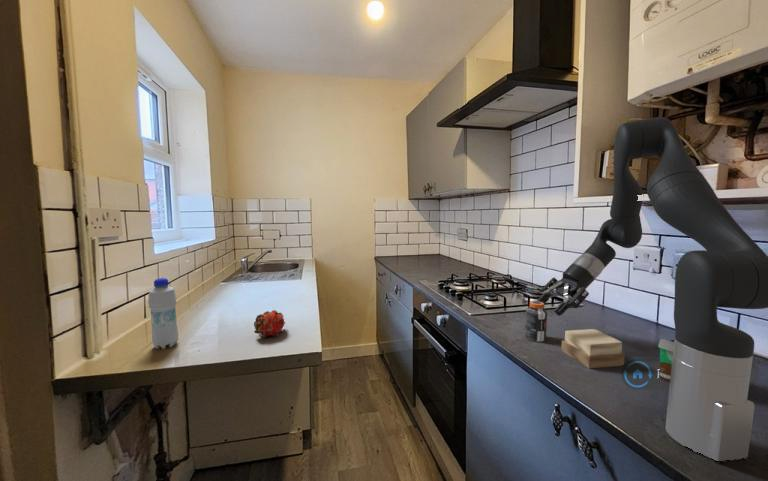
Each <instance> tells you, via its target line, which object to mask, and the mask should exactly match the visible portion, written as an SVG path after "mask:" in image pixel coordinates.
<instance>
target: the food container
mask: <svg viewBox="0 0 768 481" xmlns="http://www.w3.org/2000/svg"><path fill="white" fill-rule="evenodd" d="M674 340H675V338H674V339H671V340H667V339H664V338H660V339H659V342H658V346H657V347H658V348H659V380H662V381H664V382H666V383H667V382H668V383H670V378H671V368H672V359H673V350H674Z"/></svg>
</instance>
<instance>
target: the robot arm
mask: <svg viewBox="0 0 768 481" xmlns="http://www.w3.org/2000/svg"><path fill="white" fill-rule="evenodd" d="M652 157H653V158H654V157H655V158H658V159H659V160H660V163H659V164H658V166H657V167H656V168H655V170H654V172H653V173H652V174H651V176H650V178H649V179H648V182H647V185H646V194H647V197H648V199H649V201H650V203H651V206H652V208H653V210H654V211H655V213H656V215H657V216H658V217H659V218H660V219H661V220H662V221H663V222H665V223H666V224H668V225H669V226H671V227H672V228H674V229H675V230H677V231H679V232H680V233H682V234H684V235H685V236H687V237H688V238H690V239H691V240H693V241H695V242H696V243H698V244H699V245H700V246H701V247H703V248H704V250H696V249H695V250H690V251H687V252H686V253H684V254H683V255H682V256H681V257H680V258H679V259H678V260H679V261H678V263H677V265H676V268H675V274H674V276H675V278H674V301H673V302H674V305H673V306H674V307H673V322H674V328H675V329H674V331H675V332H674V339H675V340H674V339H673V340H674V350H673V359H672V368H671V378H670V382H669V388H668V389H669V390H668V398H667V405H666V406H667V410H666V420H665V431H666V433H667V434H668V435H669V436H670V437H671V439H673V440H674V441H675V442H677V443H678V444H680V445H681V446H683V447H685V446H686V447H688V448H690V449H692V450H693V451H692V450H691V451H692V452H695V453H697V452H698V453H697V454H699V453H701V454H700V455H702V454H703V455H702V456H705V457H707V458H709V459H711V458H712V459H714V460H716V461H723V462H727V461H726V460H730V461H737V460H743V459H742V458H744V459H747V458H746V457H748V458H749V451H750V442H751V434H752V429H753V428H752V427H753V420H754V413H755V402H753V401H752V400H748V397H749V396H748V395H749V388H750V380H751V374H752V366H753V361H754V360H753V359H754V352H755V340H754V338H753V337H752V335H751V334H749V333H747V332H745V331H743V330H741V329H739V328H736V327H733V326H731V325H729V324H725V323H722V322H720V321H719V320H718V308H725V309H726V308H727V309H740V310H763V309H768V255H767V254H766V252H764V251H763V249H762V248H761V247H760V246H759V245H758V244H757V243H756V242H755V241H754V239H753V238H751V236H750V235H749V234H748V233H747V232H746V231H744V229H743V228H742V227H741V226H740V224H739V223H737V221H736V220H735V219H734V217H733V216H732V215H731V213H729V211H728V210H727V208H726V207H725V206H724V204H723V203H722V201H721V200H720V198H718V196H717V194H716V192H715V191H714V189H713V187H712V186H711V184H710V183H709V182H708V180H707V179H706V178H705V175H704V174H703V173H702V172H701V170H700V169H698V167H697V165H696V164H695V162H694V161H693V159H692V158H691V156H690V155H689V153H688V152H687V150H686V147H685V146H684V144H683V142H682V139H681V137H680V135H679V133H678V131H677V128H676V126H675V125H674V124H673V122H672V121H671V120H670V119H669V118H668V117H665V116H664V117H662V116H660V117H659V116H658V117H651V118H646V119H639V120H634V121H627V122H624V123H621V124H620V125H619V126H618V128H617V129H616V133H615V136H614V143H613V168H612V169H613V193H612V199H611V204H610V205H611V206H610V210H609V216H610V218H609V219H607V220H606V221H604V222H603V223H602V224H601V227H600V228H599V231H598V233H597V234H596V237H595V238H594V240H593V242H592V243H591V244H590V245H589V247H588V248H587V249H586V250H585V251H584V252H582V254H580V255H579V256H578V257H576V259H575V260H574V261H572V263H571V264H570V265H569V266H568V267H567V268H566V269H565V270H564V271H563V273H562V278H561V279H559V280H558V279H557V278H556V277H552V278H551V279H550V280H549V281H548V282H547V283H545V285H544V286H543V287H542V288H541V289H540V290H541V292H542V294H541V295H540V297H539V298H538V299H537V300H536V301H539V302H543V303H544V305H545V304H546V303H547V302H548V301H549V300H550V299H551V298H553V297H559V296H560V297H563V302H562V301H561V302H560V303H559V304H558V306H556V307H555V309H554V310H553V312H554V314H555V315H556V316H559V317H560V316H562V315H564V313H565V312H566V311H567V310H568V309H570V308H575V309H577V308H579V306H581V305H582V303H583V302H584V301H585V300H586V299H587V297H589V294H590V293H589V292H588V290H587V288H588V287H589V286H590V285H591V284H592V283H593V282H594V281H595V280H596V279H597V278H598V277H599V276H600V275H601V274H602V273H603V271H604V269H605V268H606V267H607V266H608V265H609V264H610V263H611V262H612V261H613V260H614V259H615V258H616V256H617V252H616V250H615V249H614V247H612V246H611V245H610V244H608V243H607V242H610V243H612V244H615V245H617V246H619V247H621V248H623V249H631V248H634V247H636V246H638V244H640V242H641V239H642V237H643V228H642V221H641V216H640V214H641V210H642V206H643V202H644V200H643V201H637V200H638V196H637V195H642V194H643V195H644V191H643V188H642V186H641V184H640V183H639V182H638V180H637V179H636V178H635V177H634V176H633V174H632V172H631V170H630V161H632V160H639V159H646V158H652ZM686 447H685V448H686ZM688 448H687V449H688ZM690 449H689V450H690ZM712 459H711V460H712ZM735 459H736V460H735ZM714 460H713V461H714ZM724 460H725V461H724Z"/></svg>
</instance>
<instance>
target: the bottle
mask: <svg viewBox="0 0 768 481" xmlns="http://www.w3.org/2000/svg"><path fill="white" fill-rule="evenodd" d="M153 286H154V287H153V288H152V289H150V290H149V291H148V301H147V304H148V308H149V309H150V320H151V321H150V322H151V341H152V344H153V346H154V348H155V349H157V350H159V349H163V350H165V349H166V346H167V345H168V347H169V348H172V347H173V346H175V345H176V344H178V341H179V329H178V326H177V310H176V305H177V295H176V292H175V288H174V287H172V286H169V280H168V278H166V277H159V278H156V279H154V281H153Z"/></svg>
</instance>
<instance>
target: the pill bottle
mask: <svg viewBox="0 0 768 481" xmlns="http://www.w3.org/2000/svg"><path fill="white" fill-rule="evenodd" d="M547 320H548V312H547V310H546V309H545V304H544V303H543V302H539V301H537V300H531V301H529V307H528V308H526V309H525V322H524V337H525V338H526V339H527V340H529V341H532V342H537V343H538V342H540V343H541V342H545V341H546V339H547V326H548V325H547V324H548V321H547Z"/></svg>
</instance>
